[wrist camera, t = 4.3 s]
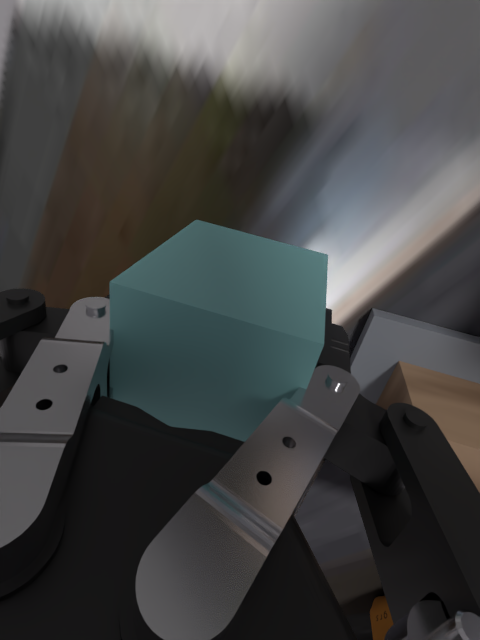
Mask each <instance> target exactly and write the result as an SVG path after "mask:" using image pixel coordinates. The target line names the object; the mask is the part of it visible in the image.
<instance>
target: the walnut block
mask: <svg viewBox="0 0 480 640" xmlns="http://www.w3.org/2000/svg"><path fill="white" fill-rule="evenodd" d="M393 403H407V404H410V405H413V406H415V407H417V408H419V409H421V410H423V411H424V412H426V413H427V414H428V415H429V416H430V417H432V418H433V419H434V421H435V422H436V423H437V424H438V426H439V428H440V429H441V431H442V432H443V434H444V436H445V437H446V439H447V441H448V442H449V444H450V445H451V447H452V449H453V450H454V452H455V454H456V455H457V457H458V458H459V460H460V462H461V463H462V465H463V467H464V468H465V470H466V471H467V473H468V475H469V476H470V478H471V480H472V481H473V483H474V484H475V486H476V488H477V489H478V491H479V493H480V384H479V383H475V382H472V381H468V380H465V379H461V378H458V377H454V376H451V375H447V374H444V373H440V372H437V371H433V370H430V369H426V368H423V367H419V366H416V365H412V364H409V363H405V362H401V361H398V363H397V365H396V367H395V369H394V371H393V373H392V375H391V376H390V378H389V380H388V382H387V384H386V386H385V388H384V390H383V391H382V393H381V395H380V397H379V399H378V401H377V403H376V405H378V406H380V407H382V408H383V409H385V410H387V409H388V407H389V406H390V405H391V404H393Z"/></svg>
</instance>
